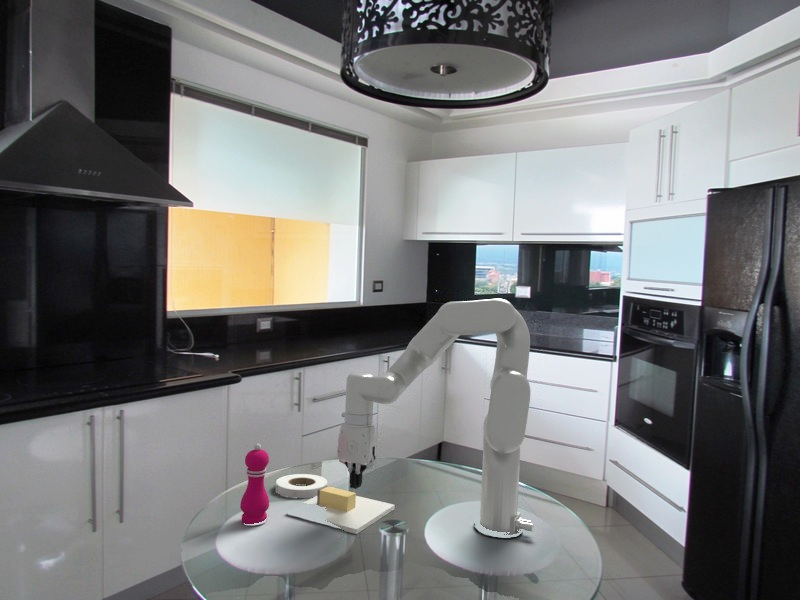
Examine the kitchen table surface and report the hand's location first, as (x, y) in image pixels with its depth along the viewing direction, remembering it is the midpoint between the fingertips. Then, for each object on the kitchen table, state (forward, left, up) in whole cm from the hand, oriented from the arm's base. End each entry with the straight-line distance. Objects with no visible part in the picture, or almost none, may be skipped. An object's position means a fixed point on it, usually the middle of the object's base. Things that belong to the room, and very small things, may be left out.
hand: (355, 486), depth 147 cm
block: (+1, 0, -4) cm, 5 cm away
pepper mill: (+19, +18, -8) cm, 27 cm away
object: (+24, -8, -8) cm, 27 cm away
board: (+4, 0, -8) cm, 9 cm away
